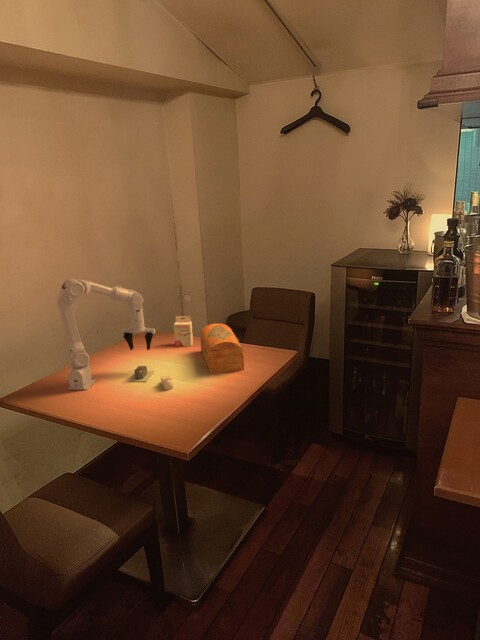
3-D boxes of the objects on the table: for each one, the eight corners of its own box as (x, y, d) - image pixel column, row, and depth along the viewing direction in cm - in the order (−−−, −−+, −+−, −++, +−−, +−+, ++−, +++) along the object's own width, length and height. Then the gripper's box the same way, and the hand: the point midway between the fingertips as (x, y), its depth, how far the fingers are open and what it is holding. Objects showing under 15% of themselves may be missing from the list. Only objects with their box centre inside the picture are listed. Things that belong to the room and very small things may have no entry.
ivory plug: (173, 389, 186) (173, 381, 185) (165, 390, 185) (164, 382, 184) (168, 380, 195) (167, 373, 194) (160, 382, 193) (159, 374, 192)
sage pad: (146, 382, 194) (146, 381, 194) (127, 381, 196) (127, 380, 196) (154, 371, 205) (154, 370, 205) (137, 371, 206) (137, 370, 206)
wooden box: (246, 370, 202) (245, 339, 198) (208, 374, 199) (206, 343, 196) (234, 348, 231) (233, 320, 227) (201, 351, 228) (198, 324, 224)
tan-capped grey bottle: (142, 379, 196) (141, 372, 195) (134, 379, 196) (133, 372, 195) (149, 371, 205) (148, 363, 204) (141, 371, 205) (140, 363, 204)
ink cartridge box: (174, 346, 236) (172, 318, 232) (177, 343, 241) (174, 315, 237) (191, 346, 235) (189, 318, 231) (193, 343, 240) (191, 315, 236)
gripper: (156, 316, 203) (159, 346, 207) (124, 316, 206) (127, 346, 209) (150, 321, 197) (154, 351, 200) (118, 321, 199) (121, 351, 203)
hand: (140, 349), depth 204 cm, fingers open, 7 cm apart
